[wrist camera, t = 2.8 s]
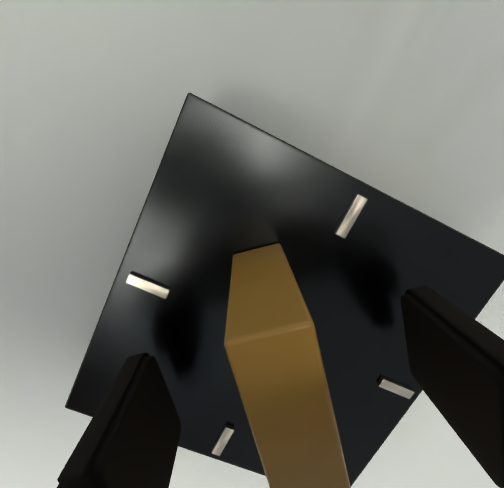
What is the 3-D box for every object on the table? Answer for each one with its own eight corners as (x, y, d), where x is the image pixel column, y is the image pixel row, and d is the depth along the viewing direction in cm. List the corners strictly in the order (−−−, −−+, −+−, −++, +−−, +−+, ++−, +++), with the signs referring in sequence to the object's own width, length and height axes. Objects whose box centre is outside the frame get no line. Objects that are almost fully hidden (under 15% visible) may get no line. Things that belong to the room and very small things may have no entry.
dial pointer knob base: (99, 357, 14) (61, 411, 11) (201, 107, 12) (186, 90, 9) (322, 440, 16) (341, 506, 13) (459, 239, 13) (522, 263, 10)
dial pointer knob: (231, 254, 10) (221, 352, 5) (279, 241, 10) (317, 329, 5) (280, 421, 12) (307, 614, 7) (320, 412, 12) (377, 600, 7)
